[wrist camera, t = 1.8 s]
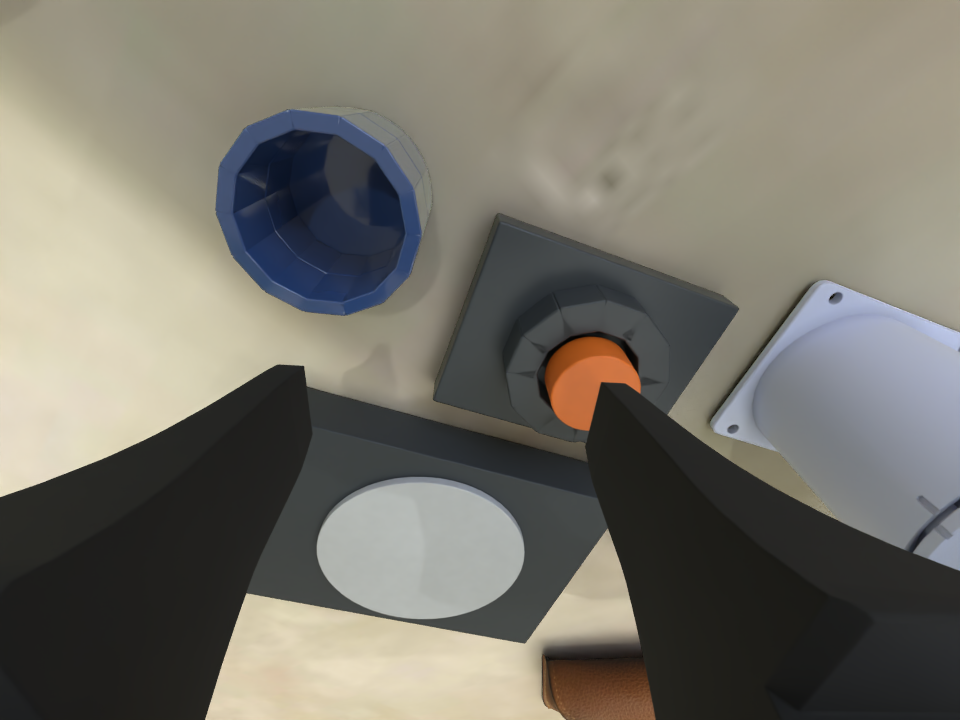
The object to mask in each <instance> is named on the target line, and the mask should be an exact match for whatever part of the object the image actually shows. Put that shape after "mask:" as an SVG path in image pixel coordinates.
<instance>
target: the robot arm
mask: <svg viewBox="0 0 960 720" xmlns="http://www.w3.org/2000/svg"><path fill="white" fill-rule="evenodd" d="M834 293H836V294H835V296H834V297H833V298H832V299H831V300H829V298H830V296H831V295H833V294H834ZM731 425H733V426H732V427H731V428H728V427H730V426H731ZM710 426H711V428H712V429H713V431H714V432H715V433H717V434H720V435H723V436H727V437H730V438H733V439H737V440H740V441H743V442H747V443H750V444H753V445H757V446H760V447H763V448H767V449H770V450H773V451H777V452H779V453H780V454H781V456H782V457H783V458H784V459H785V460H786V461H787V462H788V464H789V465H790V466H791V467H792V468H793V469H794V470H795V471H796V473H797V474H798V475H799V476H800V477H801V478H802V479H803V481H804V482H805V483H806V484H807V485H808V486H809V487H810V489H811V490H812V491H813V492H814V493H815V494H816V495H817V496H818V498H819V499H820V500H821V501H822V502H823V503H824V504H825V506H826V507H827V508H828V509H829V510H830V511H831V512H832V513H833V515H834V516H835V517H836V518H837V519H838V520H839V521H838V520H836V519H834V518H831V517H829V516H827V515H825V514H823V513H821V512H819V511H817V510H815V509H813V508H811V507H810V506H808V505H806V504H804V503H802V502H800V501H798V500H796V499H794V498H792V497H790V496H788V495H786V494H785V493H783V492H781V491H779V490H777V489H775V488H774V487H772V486H770V485H768V484H767V483H765V482H763V481H762V480H760V479H758V478H757V477H755V476H753V475H752V474H750V473H748V472H747V471H745V470H743V469H742V468H740V467H739V466H737V465H736V464H734V463H732V462H731V461H729V460H728V459H726V458H725V457H723V456H722V455H721V454H719V453H718V452H716V451H715V450H713V449H712V448H710V447H709V446H708V445H706V444H705V443H703V442H702V441H701V440H699V439H698V438H696V437H695V436H694V435H692V434H691V433H690V432H688V431H687V430H686V429H684V428H683V427H682V426H680V425H679V424H678V423H677V422H675V421H674V420H673V419H671V418H670V417H669V416H668V415H666V414H665V413H664V412H663V411H661V410H660V409H659V408H658V407H656V406H655V405H654V404H652V403H651V402H650V401H649V400H647V399H646V398H645V397H644V396H642V395H641V394H640V393H638V392H637V391H636V390H634V389H633V388H632V387H630V386H629V385H627V384H626V383H610V382H601V384H600V388H599V393H598V397H597V401H596V405H595V409H594V413H593V417H592V421H591V425H590V429H589V433H588V437H587V442H586V446H585V448H586V453H587V459H588V464H589V469H590V474H591V479H592V483H593V486H594V489H595V492H596V495H597V498H598V501H599V504H600V507H601V509H602V512H603V515H604V518H605V521H606V524H607V526H608V529H609V532H610V535H611V538H612V541H613V544H614V546H615V549H616V552H617V555H618V558H619V561H620V563H621V567H622V570H623V573H624V577H625V580H626V583H627V588H628V592H629V596H630V600H631V604H632V608H633V613H634V617H635V621H636V625H637V630H638V635H639V639H640V644H641V649H642V653H643V658H644V663H645V667H646V672H647V677H648V682H649V688H650V693H651V698H652V703H653V709H654V714H655V719H656V720H960V332H957V331H955V330H952V329H950V328H947V327H945V326H942V325H940V324H937V323H935V322H932V321H930V320H927V319H925V318H922V317H920V316H917V315H915V314H912V313H909V312H907V311H904V310H902V309H899V308H897V307H894V306H892V305H889V304H887V303H884V302H882V301H879V300H877V299H874V298H872V297H869V296H867V295H864V294H862V293H859V292H856V291H854V290H851V289H849V288H846V287H844V286H841V285H839V284H836V283H834V282H831V281H829V280H821V281H818V282H816V283H814V284H813V285H812V286H811V287H810V288H809V290H808V291H807V292H806V294H805V295H804V296H803V298H802V299H801V301H800V302H799V303H798V305H797V306H796V307H795V309H794V310H793V311H792V313H791V314H790V315H789V317H788V318H787V319H786V321H785V322H784V323H783V325H782V326H781V327H780V329H779V330H778V331H777V333H776V334H775V335H774V337H773V338H772V339H771V341H770V342H769V343H768V345H767V346H766V347H765V349H764V350H763V351H762V353H761V354H760V355H759V357H758V358H757V359H756V361H755V362H754V363H753V365H752V366H751V367H750V369H749V370H748V371H747V373H746V374H745V375H744V377H743V378H742V379H741V381H740V382H739V383H738V385H737V386H736V387H735V389H734V390H733V391H732V393H731V394H730V395H729V397H728V398H727V399H726V401H725V402H724V403H723V405H722V406H721V407H720V409H719V410H718V411H717V413H716V414H715V415H714V417H713V418H712V420H711V422H710ZM312 435H313V433H312V425H311V417H310V409H309V401H308V394H307V386H306V378H305V370H304V366H295V365H276V366H274V367H272V368H270V369H268V370H267V371H265V372H263V373H262V374H260V375H258V376H257V377H255V378H253V379H252V380H250V381H248V382H247V383H245V384H244V385H242V386H240V387H239V388H237V389H235V390H234V391H232V392H230V393H229V394H227V395H225V396H224V397H222V398H221V399H219V400H217V401H216V402H214V403H212V404H211V405H209V406H207V407H205V408H204V409H202V410H200V411H198V412H196V413H195V414H193V415H191V416H189V417H187V418H186V419H184V420H182V421H180V422H178V423H177V424H175V425H173V426H171V427H169V428H168V429H166V430H164V431H162V432H160V433H158V434H156V435H154V436H152V437H150V438H148V439H146V440H144V441H142V442H140V443H137V444H135V445H133V446H131V447H129V448H126V449H124V450H122V451H120V452H118V453H115V454H113V455H111V456H109V457H106V458H104V459H102V460H99V461H97V462H94V463H92V464H89V465H87V466H84V467H81V468H79V469H76V470H74V471H71V472H69V473H66V474H63V475H61V476H58V477H56V478H53V479H51V480H48V481H46V482H43V483H40V484H37V485H35V486H32V487H29V488H26V489H23V490H20V491H17V492H14V493H11V494H8V495H6V496H3V497H0V720H205V718H206V715H207V711H208V708H209V705H210V702H211V699H212V695H213V692H214V689H215V686H216V682H217V679H218V676H219V673H220V669H221V666H222V663H223V660H224V657H225V654H226V651H227V648H228V645H229V642H230V639H231V636H232V633H233V630H234V627H235V624H236V621H237V618H238V615H239V612H240V609H241V607H242V604H243V601H244V598H245V595H246V593H247V590H248V587H249V584H250V582H251V579H252V576H253V573H254V571H255V568H256V566H257V564H258V561H259V559H260V557H261V554H262V552H263V550H264V548H265V546H266V544H267V542H268V540H269V537H270V535H271V533H272V531H273V529H274V527H275V525H276V523H277V521H278V519H279V517H280V515H281V513H282V510H283V508H284V506H285V504H286V502H287V500H288V498H289V496H290V494H291V492H292V489H293V487H294V485H295V483H296V481H297V479H298V477H299V474H300V472H301V470H302V467H303V464H304V461H305V458H306V455H307V452H308V448H309V445H310V442H311V438H312Z"/></svg>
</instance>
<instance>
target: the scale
mask: <svg viewBox="0 0 960 720" xmlns="http://www.w3.org/2000/svg"><path fill="white" fill-rule="evenodd" d="M307 394H308V401H309V409H310V417H311V425H312V433H313V435H312V438H311V442H310V445H309V448H308V452H307V455H306V458H305V461H304V464H303V467H302V470H301V472H300V474H299V477H298V479H297V481H296V483H295V485H294V487H293V489H292V492H291V494H290V496H289V498H288V500H287V502H286V504H285V506H284V508H283V510H282V513H281V515H280V517H279V519H278V521H277V523H276V525H275V527H274V529H273V531H272V533H271V535H270V537H269V540H268V542H267V544H266V546H265V548H264V550H263V552H262V554H261V557H260V559H259V561H258V564H257V566H256V568H255V571H254V573H253V576H252V579H251V582H250V584H249V587H248V590H247V593H248V594H254V595H259V596H265V597H270V598H276V599H281V600H287V601H292V602H298V603H303V604H309V605H314V606H320V607H325V608H331V609H337V610H342V611H348V612H353V613H359V614H364V615H370V616H375V617H381V618H386V619H392V620H397V621H403V622H408V623H414V624H419V625H425V626H430V627H436V628H441V629H447V630H452V631H458V632H464V633H469V634H475V635H480V636H486V637H491V638H497V639H502V640H508V641H513V642H519V643H526V642H527V640H528V639H529V637H530V636H531V635H532V633H533V632H534V630H535V629H536V628H537V626H538V625H539V623H540V622H541V621H542V619H543V618H544V616H545V615H546V614H547V612H548V611H549V609H550V608H551V607H552V605H553V604H554V602H555V601H556V600H557V598H558V597H559V595H560V594H561V593H562V591H563V590H564V588H565V587H566V586H567V584H568V583H569V581H570V580H571V579H572V577H573V576H574V574H575V573H576V571H577V570H578V569H579V567H580V566H581V564H582V563H583V562H584V560H585V559H586V557H587V556H588V555H589V553H590V552H591V550H592V549H593V548H594V546H595V545H596V543H597V542H598V541H599V539H600V538H601V536H602V535H603V534H604V532H605V531H606V529H607V528H608V526H607V524H606V521H605V518H604V515H603V512H602V509H601V507H600V504H599V501H598V498H597V495H596V492H595V489H594V486H593V483H592V479H591V474H590V469H589V464H588V463H587V462H583V461H579V460H576V459H572V458H568V457H565V456H561V455H557V454H553V453H550V452H546V451H542V450H539V449H535V448H531V447H527V446H524V445H520V444H516V443H512V442H509V441H505V440H501V439H498V438H494V437H490V436H486V435H483V434H479V433H475V432H472V431H468V430H464V429H460V428H457V427H453V426H449V425H446V424H442V423H438V422H434V421H431V420H427V419H423V418H420V417H416V416H412V415H408V414H405V413H401V412H397V411H394V410H390V409H386V408H382V407H379V406H375V405H371V404H368V403H364V402H360V401H356V400H353V399H349V398H345V397H342V396H338V395H334V394H330V393H327V392H323V391H319V390H315V389H312V388H308V387H307Z"/></svg>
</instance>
